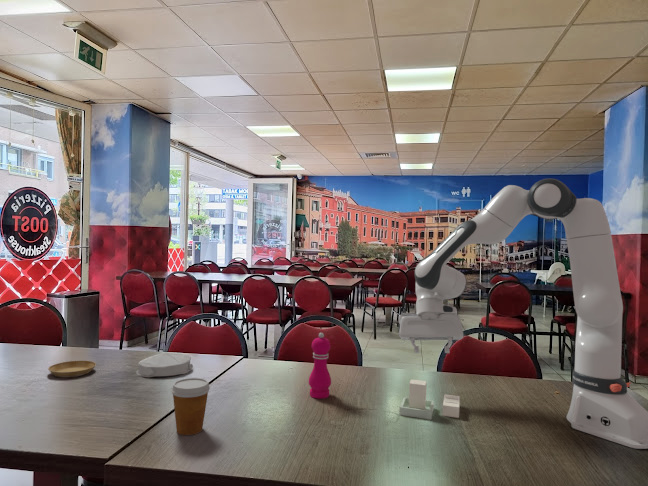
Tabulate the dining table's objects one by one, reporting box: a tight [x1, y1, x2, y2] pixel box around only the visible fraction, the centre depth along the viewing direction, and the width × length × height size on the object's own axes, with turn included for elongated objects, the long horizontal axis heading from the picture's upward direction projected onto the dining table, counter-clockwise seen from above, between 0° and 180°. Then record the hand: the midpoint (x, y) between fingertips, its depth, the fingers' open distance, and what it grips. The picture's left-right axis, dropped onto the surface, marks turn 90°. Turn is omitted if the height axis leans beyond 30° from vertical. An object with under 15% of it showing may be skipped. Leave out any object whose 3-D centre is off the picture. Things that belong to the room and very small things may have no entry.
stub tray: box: [398, 396, 435, 420], centre depth 129 cm, size 9×9×2 cm
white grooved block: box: [442, 393, 461, 419], centre depth 130 cm, size 10×4×3 cm, turn 162°
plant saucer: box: [47, 360, 97, 378], centre depth 156 cm, size 15×15×3 cm
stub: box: [408, 378, 427, 410], centre depth 129 cm, size 4×4×8 cm
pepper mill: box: [308, 332, 332, 400], centre depth 140 cm, size 7×7×20 cm
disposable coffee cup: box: [170, 377, 211, 436], centre depth 112 cm, size 10×10×12 cm
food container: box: [135, 352, 194, 378], centre depth 162 cm, size 20×20×7 cm
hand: (431, 352), depth 139 cm, fingers open, 8 cm apart
